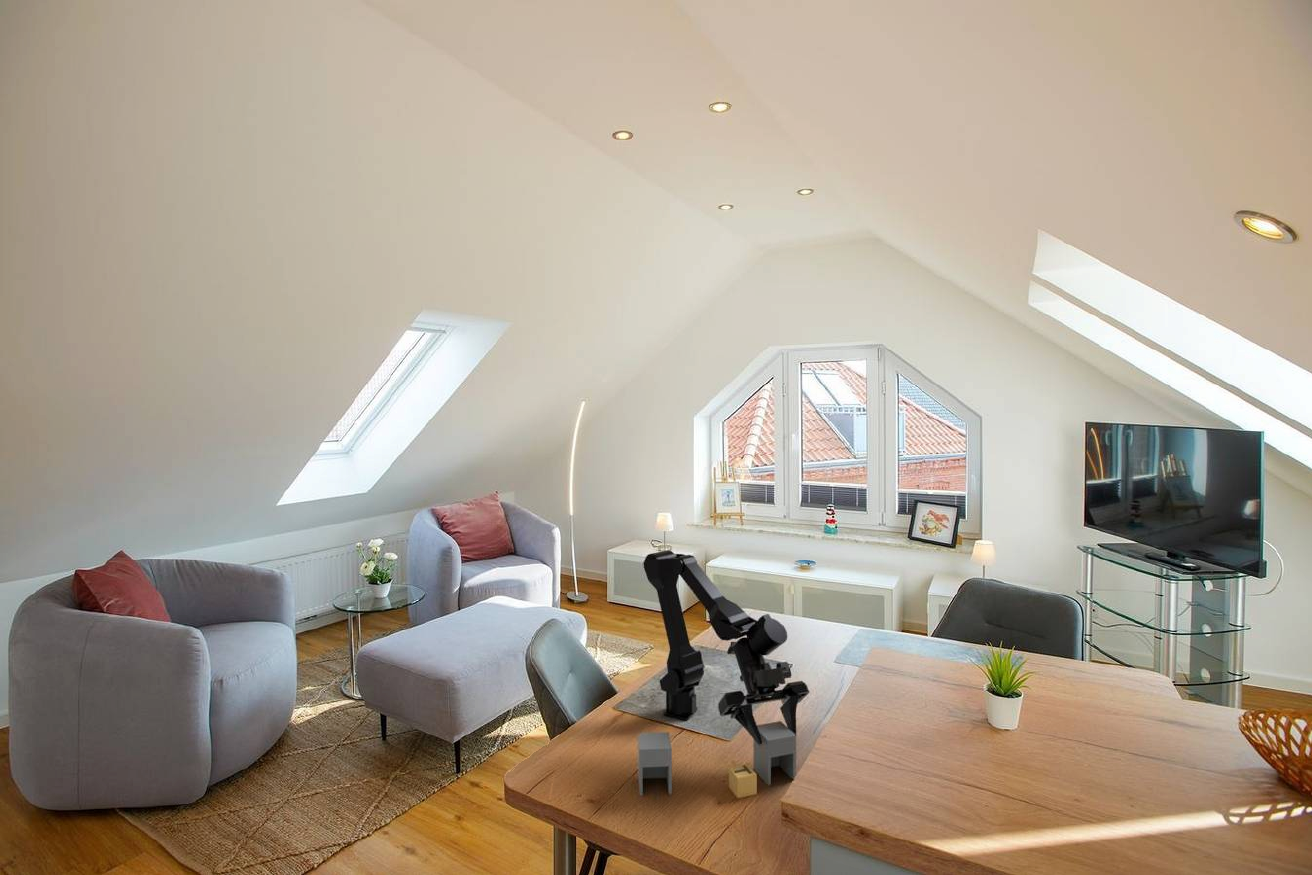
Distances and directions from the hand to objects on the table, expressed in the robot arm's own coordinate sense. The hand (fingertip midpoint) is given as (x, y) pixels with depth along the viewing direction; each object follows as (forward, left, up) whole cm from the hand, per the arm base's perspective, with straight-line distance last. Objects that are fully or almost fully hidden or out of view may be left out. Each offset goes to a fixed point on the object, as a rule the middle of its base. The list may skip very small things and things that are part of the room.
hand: (777, 740), depth 129 cm
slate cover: (-21, -13, -8) cm, 26 cm away
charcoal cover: (-1, +1, -8) cm, 8 cm away
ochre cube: (-5, -7, -8) cm, 12 cm away
